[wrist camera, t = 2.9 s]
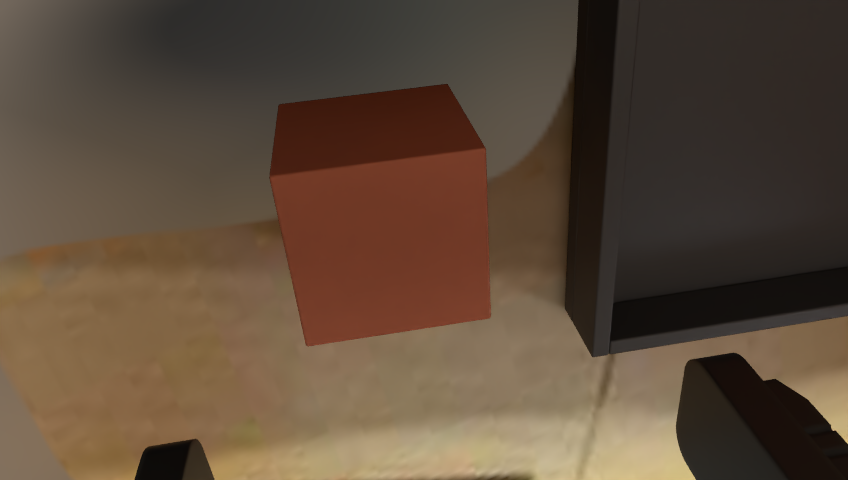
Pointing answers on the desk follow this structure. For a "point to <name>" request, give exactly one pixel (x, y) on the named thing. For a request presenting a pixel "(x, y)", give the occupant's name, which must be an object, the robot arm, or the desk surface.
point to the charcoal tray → (707, 169)
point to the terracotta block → (382, 212)
